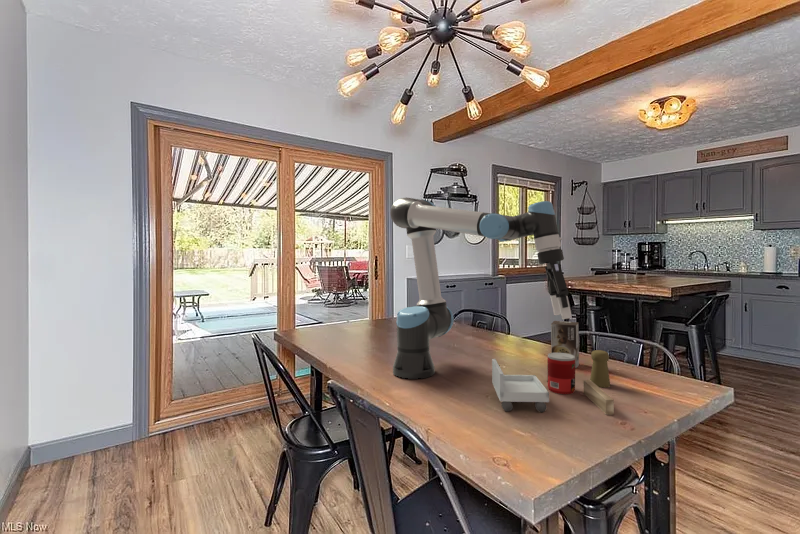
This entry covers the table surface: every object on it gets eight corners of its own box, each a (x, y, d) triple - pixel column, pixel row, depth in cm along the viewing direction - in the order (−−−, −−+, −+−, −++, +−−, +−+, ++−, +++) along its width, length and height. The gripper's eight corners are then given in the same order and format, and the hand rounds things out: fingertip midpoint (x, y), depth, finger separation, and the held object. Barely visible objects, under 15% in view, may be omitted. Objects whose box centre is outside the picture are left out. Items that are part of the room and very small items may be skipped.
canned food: (577, 395, 119) (577, 359, 119) (549, 394, 121) (549, 358, 120) (572, 386, 127) (572, 352, 126) (545, 385, 128) (545, 351, 128)
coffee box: (579, 364, 151) (579, 322, 150) (576, 368, 145) (576, 325, 145) (554, 360, 156) (554, 320, 155) (550, 365, 150) (550, 322, 150)
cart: (500, 411, 108) (499, 373, 108) (492, 391, 123) (492, 358, 123) (549, 412, 107) (549, 374, 106) (535, 392, 122) (535, 359, 121)
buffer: (605, 414, 105) (605, 399, 105) (583, 392, 121) (583, 379, 121) (613, 414, 105) (613, 399, 105) (590, 392, 121) (590, 380, 121)
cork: (609, 382, 130) (610, 349, 129) (611, 388, 124) (611, 353, 124) (589, 380, 132) (589, 347, 132) (589, 386, 127) (589, 352, 126)
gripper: (569, 244, 113) (585, 318, 111) (554, 250, 137) (567, 311, 135) (542, 249, 114) (557, 322, 112) (532, 255, 138) (544, 315, 137)
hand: (562, 316), depth 124 cm, fingers open, 13 cm apart
